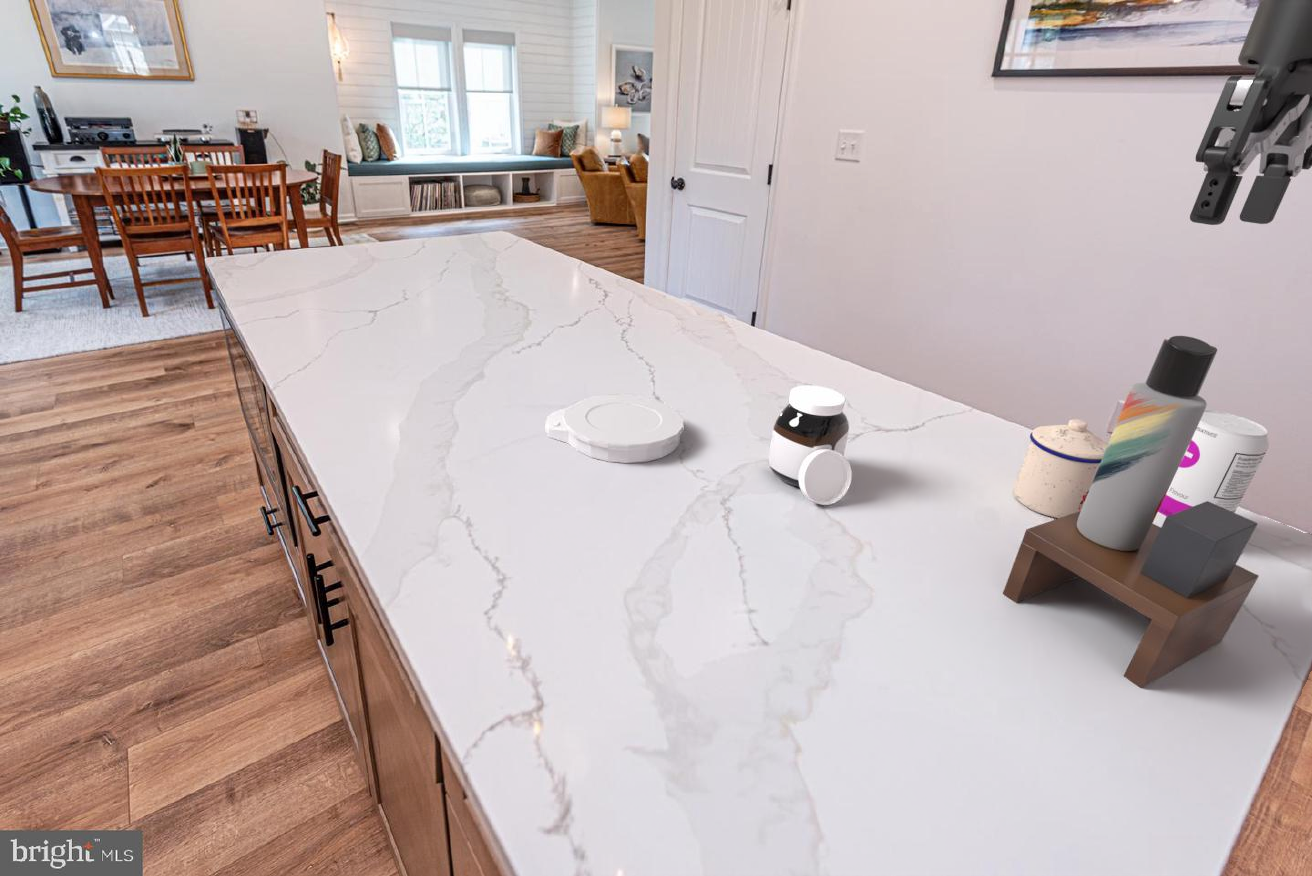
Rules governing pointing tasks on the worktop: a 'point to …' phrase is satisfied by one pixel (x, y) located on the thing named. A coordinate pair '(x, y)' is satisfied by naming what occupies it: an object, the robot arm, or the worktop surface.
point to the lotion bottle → (1147, 446)
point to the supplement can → (1216, 464)
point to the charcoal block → (1197, 548)
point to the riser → (1130, 593)
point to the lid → (618, 428)
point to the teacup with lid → (1059, 468)
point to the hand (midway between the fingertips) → (1230, 223)
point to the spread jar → (812, 444)
